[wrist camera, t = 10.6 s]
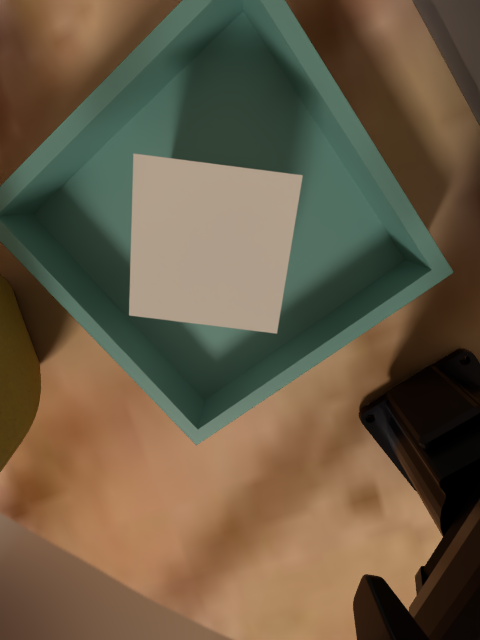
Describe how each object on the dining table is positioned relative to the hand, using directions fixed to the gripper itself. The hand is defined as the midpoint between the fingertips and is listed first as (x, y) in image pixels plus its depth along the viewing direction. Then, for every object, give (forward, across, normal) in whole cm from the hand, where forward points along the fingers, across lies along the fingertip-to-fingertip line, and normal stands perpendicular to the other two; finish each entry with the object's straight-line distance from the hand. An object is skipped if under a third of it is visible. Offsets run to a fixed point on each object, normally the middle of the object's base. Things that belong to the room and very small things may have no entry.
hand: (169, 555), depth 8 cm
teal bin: (+11, +1, -6) cm, 13 cm away
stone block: (+10, +1, -6) cm, 12 cm away
